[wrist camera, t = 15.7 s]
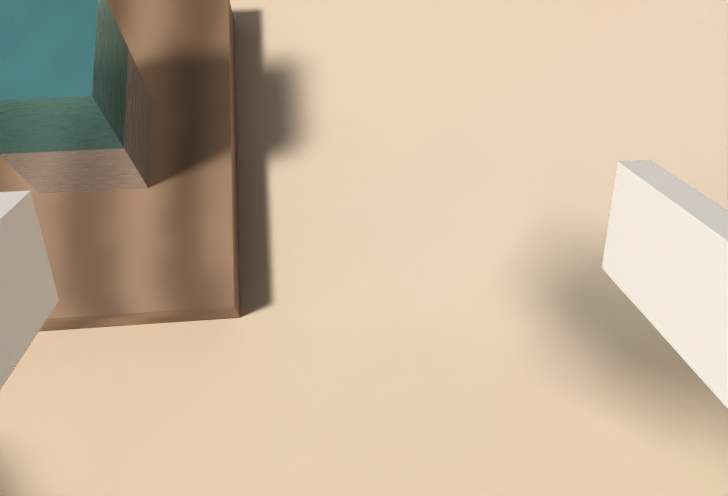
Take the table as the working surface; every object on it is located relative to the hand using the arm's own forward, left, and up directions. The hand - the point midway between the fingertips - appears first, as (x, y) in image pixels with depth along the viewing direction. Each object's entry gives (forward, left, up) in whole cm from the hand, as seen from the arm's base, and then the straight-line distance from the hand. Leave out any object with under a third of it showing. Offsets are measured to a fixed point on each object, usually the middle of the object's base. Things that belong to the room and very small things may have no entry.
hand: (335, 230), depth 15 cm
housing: (+15, -17, -26) cm, 35 cm away
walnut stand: (+15, -17, -29) cm, 37 cm away
